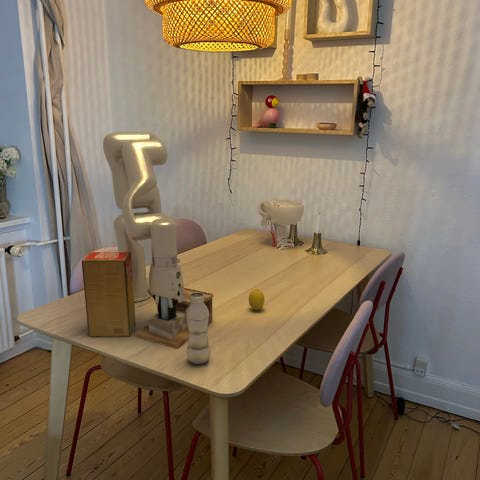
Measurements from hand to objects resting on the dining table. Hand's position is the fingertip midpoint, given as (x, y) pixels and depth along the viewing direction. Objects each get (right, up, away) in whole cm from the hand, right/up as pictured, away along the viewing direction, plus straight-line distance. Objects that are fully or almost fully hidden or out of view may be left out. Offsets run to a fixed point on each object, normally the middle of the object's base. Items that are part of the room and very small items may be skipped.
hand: (166, 316), depth 142 cm
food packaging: (-18, -5, +4) cm, 19 cm away
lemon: (+28, -1, +19) cm, 34 cm away
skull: (+42, +20, +93) cm, 104 cm away
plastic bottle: (+11, -11, -13) cm, 20 cm away
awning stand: (+2, -5, +5) cm, 7 cm away
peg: (0, -3, +1) cm, 3 cm away
